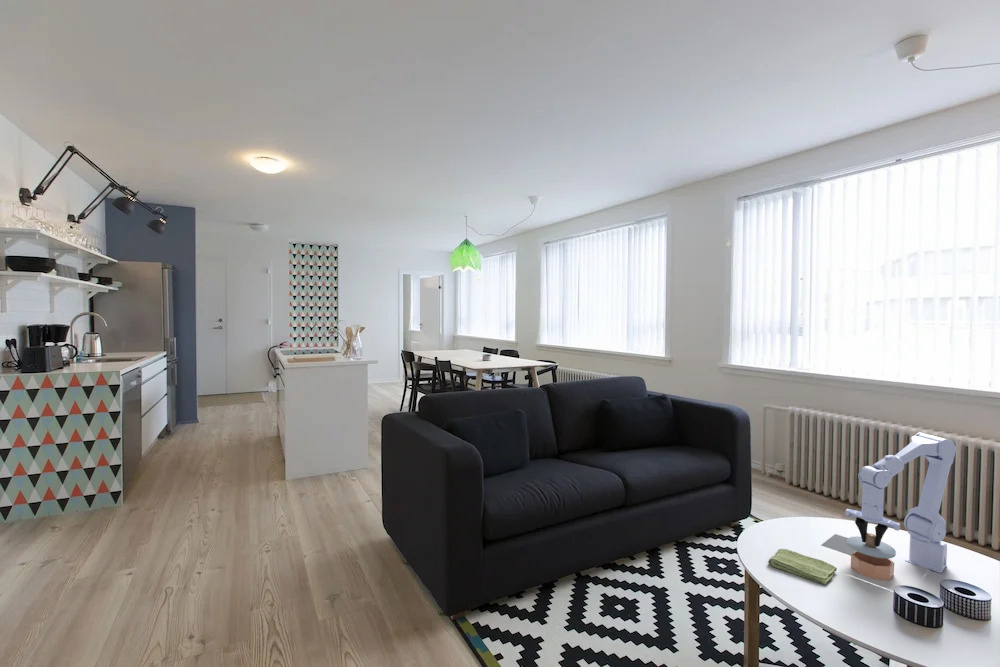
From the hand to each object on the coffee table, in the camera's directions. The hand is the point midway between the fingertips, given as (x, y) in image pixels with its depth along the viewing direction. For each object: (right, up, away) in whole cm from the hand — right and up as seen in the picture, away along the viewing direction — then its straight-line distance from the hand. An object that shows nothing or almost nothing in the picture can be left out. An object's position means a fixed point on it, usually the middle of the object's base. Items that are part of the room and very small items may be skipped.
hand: (870, 543), depth 163 cm
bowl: (0, -9, -1) cm, 9 cm away
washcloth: (-22, -10, +2) cm, 24 cm away
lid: (0, -2, 0) cm, 2 cm away
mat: (+4, -8, +15) cm, 18 cm away
